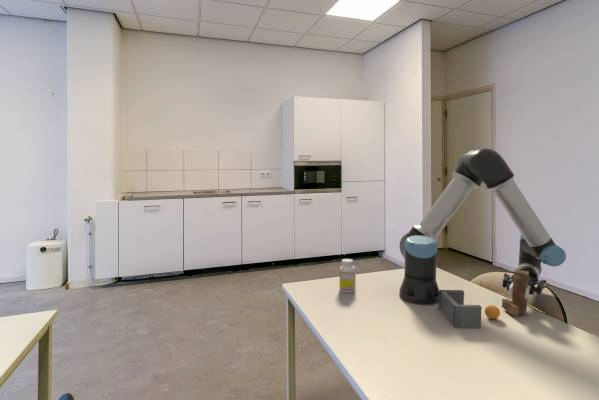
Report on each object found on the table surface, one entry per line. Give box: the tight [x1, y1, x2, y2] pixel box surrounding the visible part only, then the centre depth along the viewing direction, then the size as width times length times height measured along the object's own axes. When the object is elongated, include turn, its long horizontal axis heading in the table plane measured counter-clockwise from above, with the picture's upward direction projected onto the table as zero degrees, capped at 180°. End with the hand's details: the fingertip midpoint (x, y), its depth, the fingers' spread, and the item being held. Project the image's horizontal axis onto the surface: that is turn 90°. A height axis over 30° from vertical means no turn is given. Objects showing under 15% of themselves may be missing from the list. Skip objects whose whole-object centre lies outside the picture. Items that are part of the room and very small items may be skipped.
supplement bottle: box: [339, 258, 357, 294], centre depth 144 cm, size 7×7×13 cm
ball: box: [484, 304, 501, 320], centre depth 116 cm, size 4×4×4 cm
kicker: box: [501, 268, 529, 316], centre depth 119 cm, size 7×7×14 cm
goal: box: [438, 289, 482, 329], centre depth 117 cm, size 15×8×7 cm, turn 176°
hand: (518, 293), depth 115 cm, fingers closed on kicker, 4 cm apart
